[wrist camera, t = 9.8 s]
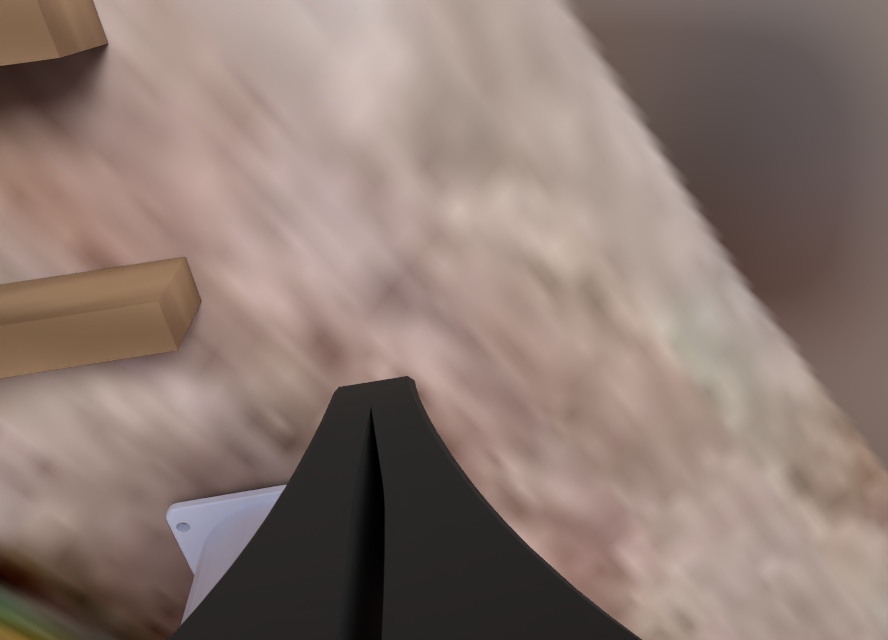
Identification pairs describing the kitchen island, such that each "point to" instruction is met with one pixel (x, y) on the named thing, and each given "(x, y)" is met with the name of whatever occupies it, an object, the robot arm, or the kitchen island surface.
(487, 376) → the kitchen island surface
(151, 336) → the wooden pieces
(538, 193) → the kitchen island surface
